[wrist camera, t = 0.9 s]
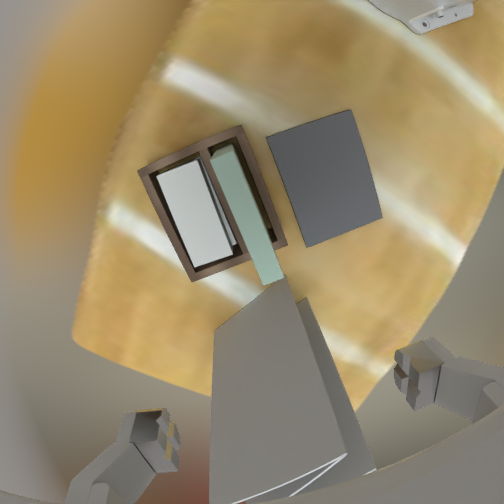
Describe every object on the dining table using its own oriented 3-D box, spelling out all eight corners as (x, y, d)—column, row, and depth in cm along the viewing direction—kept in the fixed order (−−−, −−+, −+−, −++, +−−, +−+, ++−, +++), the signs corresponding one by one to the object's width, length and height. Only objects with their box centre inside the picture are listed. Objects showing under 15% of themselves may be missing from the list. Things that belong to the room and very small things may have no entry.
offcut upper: (199, 157, 38) (197, 160, 35) (232, 245, 42) (232, 254, 39) (161, 172, 38) (156, 176, 35) (196, 257, 42) (194, 267, 40)
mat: (349, 109, 39) (351, 109, 38) (381, 216, 44) (382, 217, 44) (266, 137, 40) (266, 137, 39) (306, 246, 45) (307, 247, 45)
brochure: (238, 350, 51) (249, 522, 24) (214, 330, 50) (208, 510, 22) (307, 298, 49) (376, 469, 21) (284, 274, 47) (345, 453, 19)
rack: (239, 125, 39) (241, 124, 34) (282, 232, 44) (288, 245, 40) (147, 165, 40) (137, 170, 35) (195, 266, 45) (191, 282, 41)
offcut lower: (202, 155, 40) (200, 156, 38) (236, 236, 45) (236, 243, 42) (167, 170, 41) (163, 173, 38) (202, 249, 45) (201, 257, 42)
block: (232, 142, 40) (233, 150, 25) (265, 225, 44) (284, 277, 29) (217, 148, 40) (209, 160, 25) (251, 231, 44) (263, 285, 29)
